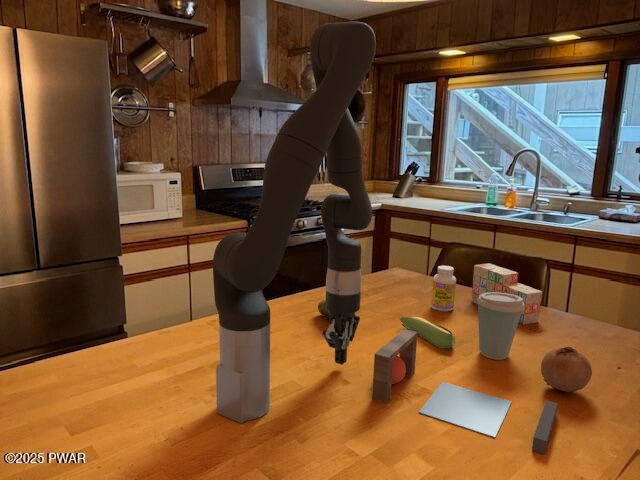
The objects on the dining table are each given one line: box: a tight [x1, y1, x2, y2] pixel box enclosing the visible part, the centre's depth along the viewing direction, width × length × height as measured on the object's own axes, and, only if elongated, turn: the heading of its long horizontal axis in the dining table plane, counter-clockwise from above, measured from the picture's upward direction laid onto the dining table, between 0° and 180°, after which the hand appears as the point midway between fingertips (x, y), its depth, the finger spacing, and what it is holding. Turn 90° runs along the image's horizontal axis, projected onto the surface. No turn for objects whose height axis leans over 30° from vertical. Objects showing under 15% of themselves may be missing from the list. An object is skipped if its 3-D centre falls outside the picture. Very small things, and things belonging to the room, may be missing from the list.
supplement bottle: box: [430, 265, 457, 312], centre depth 149 cm, size 7×7×13 cm
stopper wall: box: [531, 400, 558, 455], centre depth 88 cm, size 14×2×2 cm, turn 148°
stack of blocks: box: [470, 263, 543, 326], centre depth 148 cm, size 21×6×12 cm, turn 25°
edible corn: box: [399, 316, 456, 349], centre depth 128 cm, size 5×20×5 cm, turn 28°
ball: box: [391, 355, 406, 385], centre depth 104 cm, size 6×6×6 cm
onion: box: [540, 346, 593, 393], centre depth 102 cm, size 10×9×10 cm
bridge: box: [371, 328, 418, 404], centre depth 102 cm, size 15×3×10 cm, turn 148°
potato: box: [317, 299, 331, 319], centre depth 137 cm, size 8×13×8 cm, turn 15°
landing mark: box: [418, 381, 513, 439], centre depth 95 cm, size 14×14×1 cm
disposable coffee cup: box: [477, 292, 524, 361], centre depth 118 cm, size 11×11×15 cm
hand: (340, 362), depth 109 cm, fingers closed
